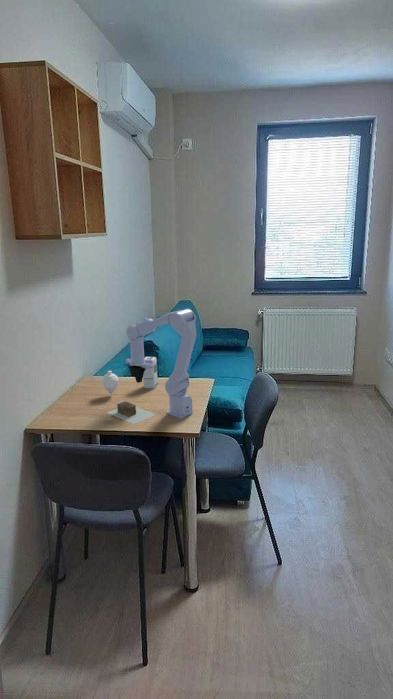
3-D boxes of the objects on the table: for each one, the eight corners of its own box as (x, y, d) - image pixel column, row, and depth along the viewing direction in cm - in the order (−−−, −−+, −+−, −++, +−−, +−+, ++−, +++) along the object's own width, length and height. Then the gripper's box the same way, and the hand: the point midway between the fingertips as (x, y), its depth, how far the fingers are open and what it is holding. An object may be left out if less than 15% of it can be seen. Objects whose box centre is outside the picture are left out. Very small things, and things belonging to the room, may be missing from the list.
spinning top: (102, 393, 216) (100, 369, 212) (118, 391, 218) (116, 367, 215) (104, 399, 209) (102, 374, 205) (121, 397, 211) (119, 372, 208)
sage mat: (156, 415, 189) (156, 414, 189) (133, 425, 181) (133, 424, 181) (129, 405, 201) (129, 404, 201) (107, 413, 193) (106, 412, 193)
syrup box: (155, 388, 220) (153, 360, 217) (143, 388, 222) (141, 359, 218) (158, 384, 226) (156, 356, 222) (147, 384, 227) (145, 356, 223)
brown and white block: (135, 405, 189) (123, 400, 194) (127, 408, 186) (116, 403, 192) (136, 414, 190) (124, 409, 196) (128, 417, 187) (116, 412, 193)
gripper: (119, 351, 198) (121, 380, 201) (140, 357, 188) (142, 387, 191) (132, 347, 202) (134, 376, 206) (153, 353, 193) (155, 383, 196)
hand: (139, 381), depth 199 cm, fingers closed
